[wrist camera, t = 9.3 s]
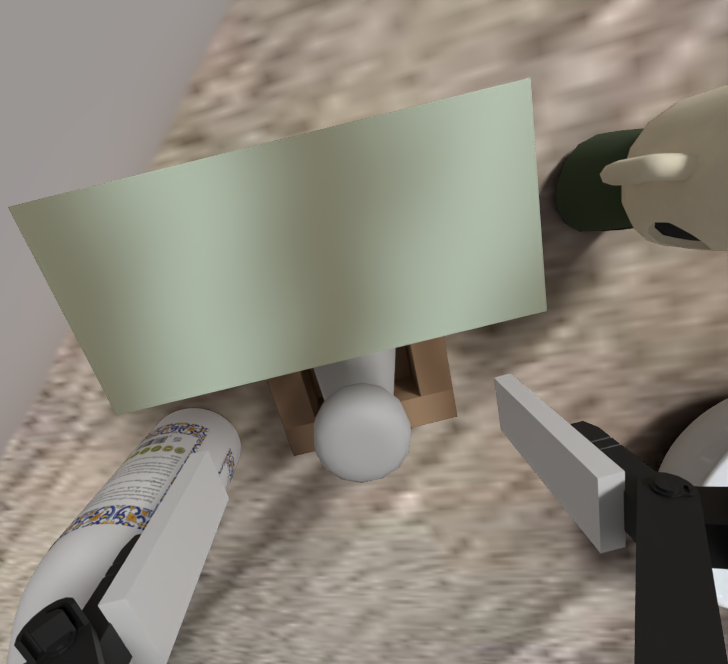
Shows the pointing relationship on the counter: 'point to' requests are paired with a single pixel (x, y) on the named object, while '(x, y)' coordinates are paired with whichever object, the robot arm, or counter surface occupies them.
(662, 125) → the character mug
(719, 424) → the serving bowl
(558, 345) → the counter surface
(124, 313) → the socket station
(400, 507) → the counter surface
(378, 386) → the salt shaker
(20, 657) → the bath foam
